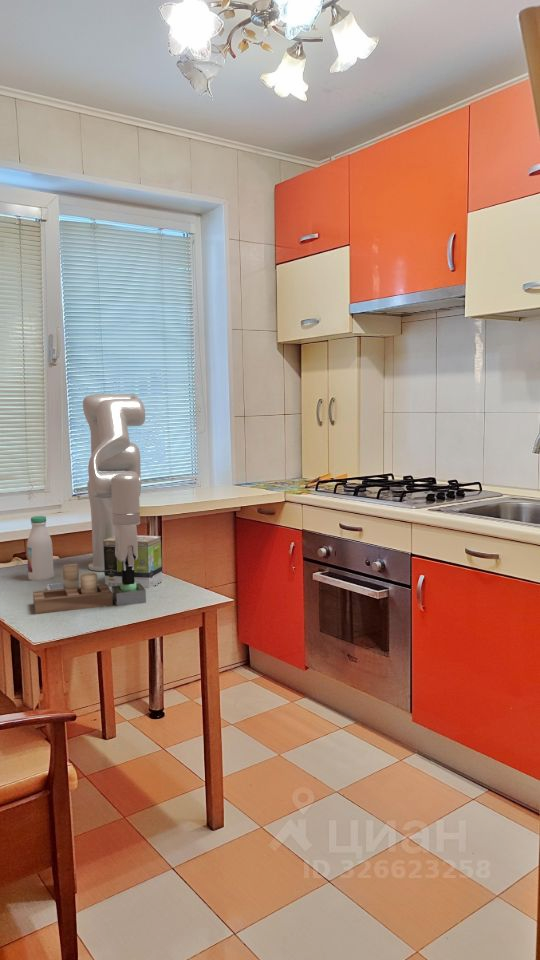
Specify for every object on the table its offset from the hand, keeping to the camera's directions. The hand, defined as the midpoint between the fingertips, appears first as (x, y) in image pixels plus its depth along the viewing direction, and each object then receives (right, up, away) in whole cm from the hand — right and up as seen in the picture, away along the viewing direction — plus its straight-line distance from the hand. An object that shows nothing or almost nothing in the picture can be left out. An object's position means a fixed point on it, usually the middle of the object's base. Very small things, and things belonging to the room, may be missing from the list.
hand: (128, 583), depth 196 cm
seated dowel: (-10, -5, -1) cm, 12 cm away
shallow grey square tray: (-19, -5, +9) cm, 21 cm away
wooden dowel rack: (-15, -6, -3) cm, 16 cm away
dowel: (-19, -4, +9) cm, 21 cm away
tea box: (-2, -3, +20) cm, 21 cm away
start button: (0, -3, 0) cm, 3 cm away
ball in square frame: (0, -5, +1) cm, 5 cm away
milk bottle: (-34, -3, +28) cm, 44 cm away
